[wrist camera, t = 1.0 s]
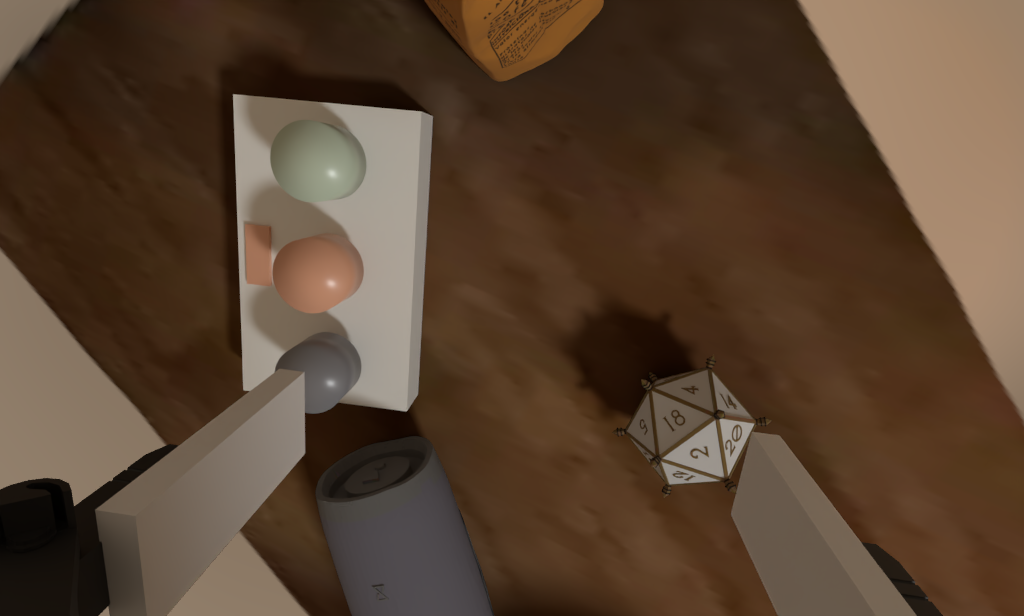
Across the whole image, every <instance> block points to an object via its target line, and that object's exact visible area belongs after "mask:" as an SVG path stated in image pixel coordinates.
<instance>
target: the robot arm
mask: <svg viewBox="0 0 1024 616" xmlns="http://www.w3.org/2000/svg"><path fill="white" fill-rule="evenodd" d="M304 454H305V379H304V372H301V371H293V370H286V369H278V370H277V371H276V372H275V373H273V374H272V375H271V376H269V377H268V378H267V379H265V380H264V381H263V382H261V383H260V384H259V385H258V386H256V387H255V388H254V389H252V390H251V391H250V392H248V393H247V394H246V395H244V396H243V397H242V398H241V399H239V400H238V401H237V402H235V403H234V404H233V405H231V406H230V407H229V408H227V409H226V410H225V411H224V412H222V413H221V414H220V415H218V416H217V417H216V418H214V419H213V420H212V421H211V422H209V423H208V424H207V425H205V426H204V427H203V428H201V429H200V430H199V431H197V432H196V433H195V434H194V435H192V436H191V437H190V438H188V439H187V440H186V441H184V442H183V443H182V444H180V445H179V446H178V445H171V444H169V445H167V446H164V447H162V448H160V449H157V450H155V451H153V452H151V453H148V454H146V455H144V456H143V457H142V458H140V459H139V460H138V461H136V462H135V463H133V464H132V465H131V466H130V467H128V469H127V470H124V471H122V472H121V473H120V474H118V475H117V476H115V477H114V478H113V480H112V481H109V482H107V483H106V484H104V485H103V486H102V487H100V488H99V489H98V490H96V491H95V492H93V493H92V494H91V495H89V496H88V497H87V498H85V499H84V500H82V501H81V502H80V503H79V504H77V505H76V506H74V504H73V498H72V492H71V488H70V485H69V483H67V482H65V481H62V480H60V479H50V478H43V479H36V480H28V481H24V482H21V483H17V484H13V485H10V486H8V487H5V488H3V489H1V490H0V616H98V615H100V613H102V612H103V610H104V609H106V607H107V606H109V613H110V616H167V614H168V613H169V612H170V611H171V610H172V609H173V607H174V606H175V605H176V604H177V603H178V602H179V600H180V599H181V598H182V597H183V596H184V595H185V593H186V592H187V591H188V590H189V589H190V587H191V586H192V585H193V584H194V583H195V582H196V581H197V579H198V578H199V577H200V576H201V575H202V574H203V572H204V571H205V570H206V569H207V568H208V567H209V565H210V564H211V563H212V562H213V561H214V559H215V558H216V557H217V556H218V555H219V554H220V552H221V551H222V550H223V549H224V548H225V547H226V545H227V544H228V543H229V542H230V541H231V539H232V538H233V537H234V536H235V535H236V534H237V533H238V531H239V530H240V529H241V528H242V527H243V526H244V524H245V523H246V522H247V521H248V520H249V519H250V517H251V516H252V515H253V514H254V513H255V512H256V510H257V509H258V508H259V507H260V506H261V504H262V503H263V502H264V501H265V500H266V499H267V497H268V496H269V495H270V494H271V493H272V492H273V490H274V489H275V488H276V487H277V486H278V485H279V483H280V482H281V481H282V480H283V479H284V478H285V476H286V475H287V474H288V473H289V472H290V471H291V469H292V468H293V467H294V466H295V465H296V464H297V462H298V461H299V460H300V459H301V458H302V456H303V455H304ZM731 516H732V518H733V520H734V522H735V524H736V526H737V529H738V531H739V533H740V535H741V537H742V539H743V542H744V544H745V546H746V548H747V550H748V552H749V555H750V557H751V559H752V561H753V563H754V565H755V567H756V570H757V572H758V574H759V576H760V578H761V580H762V583H763V585H764V587H765V589H766V591H767V593H768V596H769V598H770V600H771V602H772V604H773V606H774V609H775V611H776V613H777V615H778V616H943V615H942V614H941V613H940V612H939V610H938V609H937V608H936V607H935V606H934V604H933V603H932V602H929V601H928V597H927V596H926V595H925V593H924V592H923V591H922V590H921V588H920V587H919V586H918V585H915V581H914V580H913V579H912V577H911V576H910V575H909V574H908V573H907V571H906V570H905V569H904V568H903V566H902V565H901V564H900V563H899V562H898V561H897V560H895V559H894V558H893V557H892V556H890V555H889V554H888V553H886V552H885V551H884V550H883V549H881V548H880V547H879V546H878V545H876V544H869V543H862V542H860V540H859V539H858V538H857V536H856V535H855V534H854V533H853V531H852V530H851V529H850V527H849V526H848V525H847V523H846V522H845V521H844V519H843V518H842V517H841V515H840V514H839V513H838V512H837V510H836V509H835V508H834V506H833V505H832V504H831V502H830V501H829V500H828V498H827V497H826V496H825V495H824V493H823V492H822V491H821V489H820V488H819V487H818V485H817V484H816V483H815V481H814V480H813V479H812V477H811V476H810V475H809V474H808V472H807V471H806V470H805V468H804V467H803V466H802V464H801V463H800V462H799V460H798V459H797V458H796V456H795V455H794V454H793V453H792V451H791V450H790V449H789V447H788V446H787V445H786V443H785V442H784V441H783V439H782V438H781V437H780V436H779V435H771V434H764V433H756V432H752V434H751V438H750V442H749V446H748V449H747V453H746V457H745V461H744V465H743V469H742V473H741V477H740V481H739V484H738V488H737V492H736V496H735V500H734V504H733V508H732V512H731Z"/></svg>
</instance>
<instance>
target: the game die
mask: <svg viewBox="0 0 1024 616" xmlns="http://www.w3.org/2000/svg"><path fill="white" fill-rule="evenodd" d="M715 362H716V361H715V359H714V355H713V356H711V357H710V358H708V359H707V362H706V363H707V366H706V367H705V368H701V369H697V370H693V371H689V372H685V373H681V374H677V375H673V376H669V377H665V378H661V379H657V376H656V374H654V373H650V372H649V376H648V377H649V379H651V381H653V383H652V384H651V383H649V381H648V380H643V379H641V381H642V387H644V389H647V391H646V393H645V395H644V397H643V399H642V400H641V402H640V404H639V406H638V408H637V409H636V411H635V413H634V415H633V416H632V418H631V420H630V422H629V424H628V425H627V427H626V429H622V428H620V429H618V428H617V429H616V430H615V431H614V432H612V433H614V434H616V435H618V436H619V435H621V436H622V435H624V434H626V435H627V436H628V437H629V438H630V440H631V441H632V442H633V443H634V445H635V446H636V447H637V448H638V450H639V451H640V452H641V454H642V455H643V456H644V457H645V459H646V460H647V461H648V462H649V464H650V465H651V467H653V469H654V470H655V471H656V472H657V474H658V475H659V476H660V477H661V479H662V480H663V481H664V482H665V484H666V485H665V486H664V487H663V489H662V492H663V496H664V497H666V496H667V495H669V494H670V491H671V486H676V485H690V484H704V483H717V482H724V483H725V484H726V486H725V487H727V488H728V491H731V492H733V493H735V494H736V485H734V484H733V481H730V480H729V479H730V477H731V475H732V473H733V471H734V469H735V467H736V465H737V463H738V461H739V459H740V457H741V455H742V453H743V451H744V449H745V447H746V445H747V443H748V441H749V439H750V437H751V434H752V432H753V431H754V429H755V427H756V425H761V426H762V425H765V426H766V425H767V424H768V423H770V422H771V420H769V419H767V418H765V417H764V418H761V417H760V418H759V419H755V418H754V417H753V416H752V415H751V414H750V413H749V411H748V410H747V409H746V408H745V407H744V406H743V405H742V403H741V402H740V401H739V400H738V399H737V398H736V397H735V396H734V394H733V393H732V392H731V391H730V390H729V389H728V388H727V386H726V385H725V384H724V383H723V382H722V381H721V380H720V378H719V377H718V376H717V375H716V374H715V373H714V372H713V370H712V367H713V366H714V363H715Z"/></svg>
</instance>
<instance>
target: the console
mask: <svg viewBox="0 0 1024 616" xmlns="http://www.w3.org/2000/svg"><path fill="white" fill-rule="evenodd" d="M233 108H234V136H235V165H236V193H237V222H238V250H239V279H240V307H241V336H242V364H243V390H246V391H251V390H252V389H254V388H255V387H256V386H258V385H259V384H260V383H261V382H263V381H264V380H265V379H267V378H268V377H269V376H271V375H272V374H273V373H275V367H276V364H277V362H278V360H279V359H280V357H281V356H282V355H283V354H284V353H286V352H287V351H288V350H290V349H291V348H293V347H294V346H296V345H298V344H299V343H301V342H302V341H304V340H305V339H307V338H308V337H310V336H312V335H314V334H316V333H320V332H331V333H335V334H338V335H341V336H343V337H344V338H346V339H347V340H348V341H350V342H351V343H352V344H353V346H354V347H355V348H356V350H357V351H358V354H359V356H360V359H361V374H360V377H359V380H358V381H357V383H356V384H355V385H354V386H353V387H352V389H351V390H350V391H349V392H348V393H347V394H346V395H345V396H344V397H343V398H342V399H341V400H340V401H339V402H338V403H345V404H353V405H361V406H368V407H376V408H384V409H391V410H399V411H407V410H408V409H409V407H410V406H411V404H412V403H413V401H414V400H415V398H416V397H417V395H418V384H419V366H420V347H421V329H422V310H423V292H424V273H425V254H426V236H427V217H428V199H429V180H430V162H431V143H432V125H433V116H431V115H429V114H426V113H424V112H421V111H410V110H399V109H388V108H377V107H367V106H356V105H345V104H334V103H323V102H312V101H301V100H291V99H280V98H269V97H258V96H247V95H236V94H233ZM298 120H312V121H317V122H322V123H328V124H333V125H337V126H340V127H343V128H345V129H346V130H348V131H350V132H351V133H352V134H353V135H354V136H355V137H356V138H357V139H358V141H359V142H360V144H361V146H362V147H363V150H364V153H365V156H366V173H365V177H364V180H363V182H362V184H361V185H360V187H359V188H358V189H357V190H356V191H355V192H354V193H353V194H351V195H350V196H348V197H345V198H342V199H336V200H329V201H321V202H305V201H301V200H298V199H296V198H294V197H292V196H291V195H289V194H288V193H287V192H285V191H284V190H283V189H282V187H281V186H280V185H279V184H278V182H277V180H276V179H275V176H274V174H273V171H272V168H271V163H270V152H271V147H272V143H273V141H274V139H275V137H276V135H277V134H278V133H279V131H280V130H281V129H282V128H283V127H285V126H286V125H288V124H289V123H292V122H294V121H298ZM323 233H331V234H336V235H339V236H341V237H344V238H345V239H347V240H348V241H349V242H351V243H352V244H353V245H354V246H355V248H356V249H357V250H358V252H359V254H360V256H361V258H362V261H363V266H364V276H363V280H362V283H361V285H360V287H359V289H358V290H357V291H356V292H355V293H354V294H353V295H352V296H351V297H349V298H347V299H346V300H344V301H342V302H341V303H339V304H337V305H336V306H334V307H332V308H330V309H329V310H327V311H324V312H321V313H305V312H301V311H299V310H296V309H294V308H293V307H291V306H290V305H288V304H287V303H286V302H285V301H284V300H283V299H282V297H281V296H280V295H279V293H278V292H277V290H276V287H275V285H274V281H273V275H272V269H273V263H274V260H275V258H276V255H277V254H278V252H279V251H280V250H281V249H282V248H283V247H284V246H285V245H287V244H288V243H290V242H292V241H295V240H299V239H303V238H307V237H310V236H314V235H318V234H323Z"/></svg>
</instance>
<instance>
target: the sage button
mask: <svg viewBox="0 0 1024 616" xmlns="http://www.w3.org/2000/svg"><path fill="white" fill-rule="evenodd" d="M270 163H271V168H272V171H273V174H274V176H275V179H276V180H277V182H278V184H279V185H280V186H281V187H282V189H283V190H284V191H285V192H287V193H288V194H289V195H291V196H292V197H294V198H296V199H298V200H301V201H305V202H321V201H329V200H336V199H342V198H345V197H348V196H350V195H351V194H353V193H354V192H355V191H356V190H357V189H358V188H359V187H360V185H361V184H362V182H363V180H364V177H365V173H366V156H365V153H364V150H363V147H362V146H361V144H360V142H359V141H358V139H357V138H356V137H355V136H354V135H353V134H352V133H351V132H350V131H348V130H346V129H345V128H343V127H340V126H337V125H333V124H328V123H322V122H317V121H312V120H298V121H294V122H292V123H289V124H288V125H286V126H285V127H283V128H282V129H281V130H280V131H279V133H278V134H277V135H276V137H275V139H274V141H273V143H272V147H271V152H270Z"/></svg>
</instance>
